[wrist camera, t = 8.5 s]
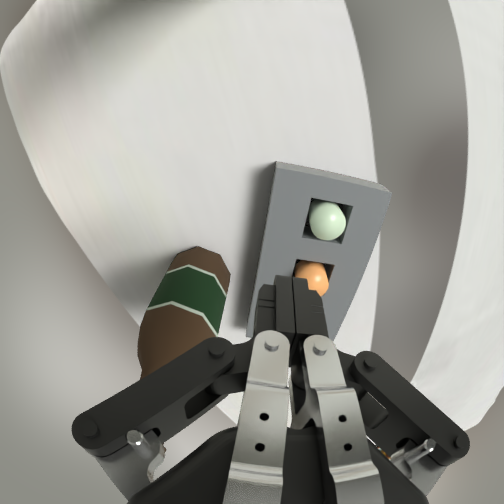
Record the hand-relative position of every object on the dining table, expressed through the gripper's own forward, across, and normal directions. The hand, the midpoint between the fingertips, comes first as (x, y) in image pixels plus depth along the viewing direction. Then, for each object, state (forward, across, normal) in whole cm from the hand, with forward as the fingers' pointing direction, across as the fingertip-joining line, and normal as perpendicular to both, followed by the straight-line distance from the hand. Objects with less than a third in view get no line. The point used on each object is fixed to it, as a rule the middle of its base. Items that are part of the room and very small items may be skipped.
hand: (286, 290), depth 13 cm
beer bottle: (+18, +8, +13) cm, 23 cm away
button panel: (+18, -5, +10) cm, 21 cm away
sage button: (+17, -5, +3) cm, 18 cm away
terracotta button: (+16, -5, +10) cm, 20 cm away
